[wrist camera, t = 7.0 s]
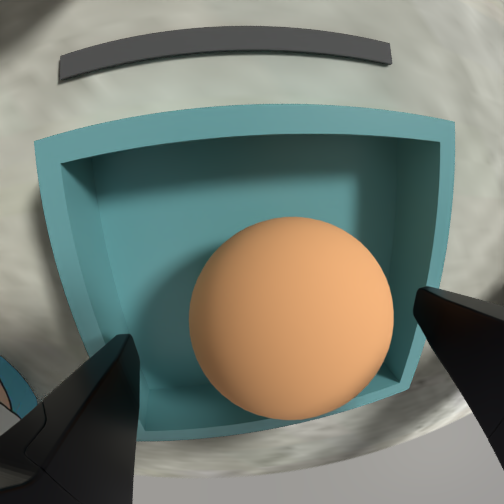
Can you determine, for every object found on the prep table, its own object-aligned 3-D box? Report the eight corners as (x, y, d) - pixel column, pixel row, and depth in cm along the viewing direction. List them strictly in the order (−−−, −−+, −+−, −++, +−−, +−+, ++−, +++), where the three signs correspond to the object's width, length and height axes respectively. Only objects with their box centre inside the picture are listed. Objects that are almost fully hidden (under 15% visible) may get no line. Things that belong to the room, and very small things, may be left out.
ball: (368, 329, 12) (464, 281, 7) (277, 441, 10) (341, 486, 4) (265, 238, 13) (302, 138, 8) (162, 335, 11) (117, 285, 6)
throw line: (387, 44, 9) (389, 43, 9) (389, 64, 10) (392, 63, 10) (62, 57, 8) (60, 55, 8) (61, 80, 8) (59, 79, 8)
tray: (402, 120, 11) (454, 121, 8) (379, 352, 15) (408, 389, 12) (75, 139, 9) (34, 141, 6) (139, 392, 13) (133, 441, 10)
